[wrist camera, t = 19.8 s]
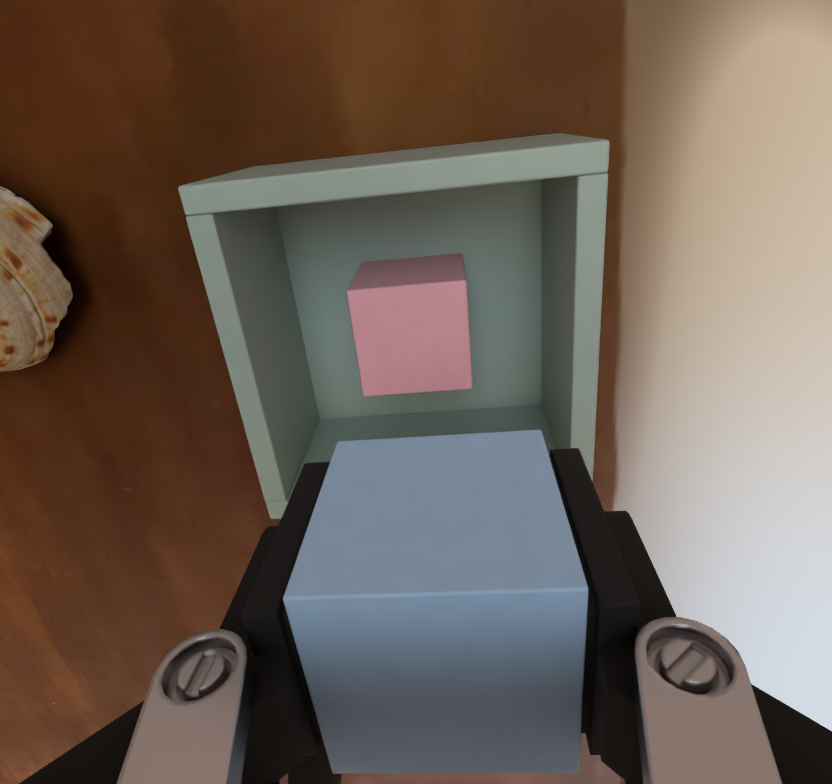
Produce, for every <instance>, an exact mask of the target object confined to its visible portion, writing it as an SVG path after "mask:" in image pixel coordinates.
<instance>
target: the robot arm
mask: <svg viewBox="0 0 832 784" xmlns="http://www.w3.org/2000/svg"><path fill="white" fill-rule="evenodd" d="M549 458H550V461H551V464H552V468H553V471H554V474H555V478H556V481H557V485H558V488H559V491H560V495H561V498H562V501H563V505H564V508H565V511H566V515H567V518H568V522H569V525H570V528H571V532H572V535H573V538H574V542H575V545H576V549H577V552H578V555H579V559H580V562H581V565H582V569H583V572H584V575H585V579H586V582H587V586H588V608H587V627H586V646H585V665H584V685H583V704H582V723H581V733H586V738H587V742H588V747H589V751H590V755H600V756H601V760H602V762H603V763H605V764H606V765H607V766H608V767H609V768H611V769H612V770H613V771H614V772H616V773H617V774H618V775H619V776H620V777H621V784H832V731H830V730H828V729H827V728H825V727H823V726H821V725H820V724H818V723H816V722H815V721H813V720H811V719H810V718H808V717H806V716H805V715H803V714H801V713H799V712H798V711H796V710H794V709H792V708H791V707H789V706H787V705H786V704H784V703H782V702H781V701H779V700H777V699H775V698H774V697H772V696H770V695H769V694H767V693H765V692H763V691H762V690H760V689H759V688H757V687H755V686H753V685H752V684H751V683H750V680H749V677H748V673H747V670H746V667H745V664H744V662H743V660H742V658H741V656H740V654H739V652H738V651H737V650H736V649H735V647H734V646H733V645H732V644H731V643H730V642H729V641H728V640H727V639H726V638H725V637H724V636H722V635H721V634H719V633H718V632H717V631H715V630H714V629H713V628H711V627H708V626H706V625H704V624H702V623H699V622H697V621H694V620H689V619H685V618H681V617H676V614H675V612H674V610H673V608H672V606H671V604H670V601H669V599H668V597H667V595H666V593H665V590H664V588H663V586H662V584H661V582H660V579H659V577H658V575H657V573H656V571H655V568H654V567H653V564H652V562H651V560H650V558H649V556H648V553H647V551H646V549H645V547H644V544H643V542H642V540H641V538H640V536H639V533H638V531H637V529H636V527H635V525H634V523H633V520H632V518H631V517H630V515H629V513H628V512H626V511H610V512H604V510H603V508H602V505H601V503H600V500H599V498H598V495H597V493H596V490H595V488H594V485H593V483H592V480H591V478H590V475H589V472H588V470H587V467H586V465H585V462H584V460H583V457H582V455H581V452H580V450H579V448H567V449H551V450H550V454H549ZM329 464H330V462H314V463H305V464H304V466H303V468H302V471H301V473H300V475H299V478H298V480H297V483H296V485H295V487H294V490H293V492H292V494H291V497H290V499H289V502H288V504H287V506H286V509H285V511H284V513H283V516H282V518H281V521H280V523H279V525H278V526H272V527H268V528H266V529H265V531H264V532H263V534H262V536H261V538H260V540H259V543H258V545H257V547H256V549H255V551H254V554H253V556H252V558H251V560H250V563H249V565H248V567H247V569H246V571H245V574H244V576H243V578H242V580H241V582H240V585H239V587H238V589H237V591H236V594H235V596H234V598H233V600H232V602H231V605H230V607H229V609H228V611H227V614H226V616H225V618H224V620H223V622H222V625H221V627H220V629H215V630H207V631H204V632H200V633H197V634H194V635H192V636H190V637H189V638H187V639H185V640H183V641H181V642H180V643H179V644H177V645H176V646H175V647H174V648H172V649H171V650H170V651H169V652H168V653H167V654H166V655H165V657H164V658H163V659H162V660H161V661H160V663H159V664H158V666H157V668H156V670H155V672H154V674H153V676H152V679H151V682H150V685H149V688H148V691H147V694H146V697H145V700H144V701H143V702H141V703H140V704H138V705H137V706H135V707H134V708H132V709H131V710H129V711H128V712H126V713H125V714H123V715H122V716H120V717H119V718H117V719H116V720H114V721H113V722H111V723H110V724H108V725H107V726H105V727H104V728H102V729H101V730H99V731H98V732H96V733H95V734H93V735H92V736H90V737H89V738H87V739H86V740H84V741H83V742H81V743H80V744H78V745H77V746H75V747H74V748H72V749H71V750H69V751H67V752H66V753H64V754H63V755H61V756H60V757H58V758H57V759H55V760H54V761H52V762H51V763H49V764H48V765H46V766H45V767H43V768H42V769H40V770H39V771H37V772H36V773H34V774H33V775H31V776H30V777H28V778H27V779H25V780H24V781H22V782H21V783H20V784H288V772H289V771H291V770H292V769H293V768H294V767H295V766H296V765H298V764H299V763H300V761H301V757H302V756H318V754H319V749H320V745H321V740H322V735H321V731H320V728H319V724H318V721H317V717H316V714H315V710H314V707H313V703H312V700H311V696H310V693H309V689H308V686H307V682H306V679H305V675H304V672H303V668H302V665H301V661H300V657H299V654H298V650H297V647H296V643H295V640H294V636H293V633H292V629H291V626H290V622H289V619H288V615H287V612H286V608H285V605H284V601H283V596H284V594H285V591H286V588H287V585H288V582H289V579H290V576H291V573H292V571H293V568H294V565H295V562H296V559H297V556H298V553H299V550H300V547H301V545H302V542H303V539H304V536H305V533H306V530H307V527H308V524H309V522H310V519H311V516H312V513H313V510H314V507H315V504H316V501H317V498H318V496H319V493H320V490H321V487H322V484H323V481H324V478H325V475H326V473H327V470H328V467H329Z"/></svg>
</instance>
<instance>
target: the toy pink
mask: <svg viewBox="0 0 832 784" xmlns="http://www.w3.org/2000/svg"><path fill="white" fill-rule="evenodd" d="M346 294H347V300H348V306H349V312H350V319H351V325H352V331H353V337H354V343H355V349H356V355H357V361H358V368H359V374H360V380H361V386H362V392H363V396H379V395H393V394H407V393H421V392H435V391H450V390H464V389H472V388H473V379H472V363H471V347H470V331H469V315H468V299H467V283H466V275H465V268H464V260H463V254H462V253H457V254H447V255H436V256H425V257H414V258H403V259H393V260H382V261H371V262H363V263H362V264H361V266H360V267H359V269H358V271H357V273H356V275H355V276H354V278H353V280H352V282H351V284H350V285H349V287H348V289H347V291H346Z"/></svg>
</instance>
